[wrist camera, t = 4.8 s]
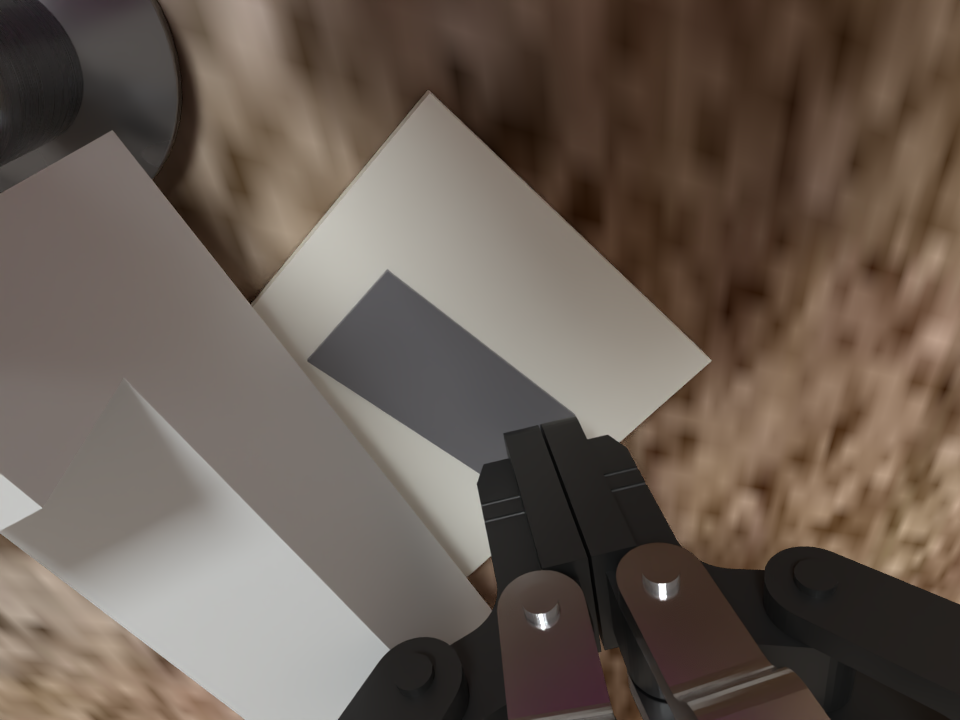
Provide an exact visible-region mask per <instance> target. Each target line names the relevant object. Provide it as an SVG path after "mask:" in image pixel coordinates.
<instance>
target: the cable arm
mask: <svg viewBox="0 0 960 720" xmlns="http://www.w3.org/2000/svg"><path fill="white" fill-rule="evenodd" d="M0 533H1V534H2V535H3V536H5V537H6V538H7V539H8V540H10V541H11V542H12V543H14V544H15V545H16V546H18V547H19V548H20V549H22V550H23V551H24V552H26V553H27V554H28V555H29V556H31V557H32V558H33V559H35V560H36V561H37V562H39V563H40V564H41V565H43V566H44V567H45V568H47V569H48V570H49V571H51V572H52V573H53V574H54V575H56V576H57V577H58V578H60V579H61V580H62V581H64V582H65V583H66V584H68V585H69V586H70V587H72V588H73V589H74V590H75V591H77V592H78V593H79V594H81V595H82V596H83V597H85V598H86V599H87V600H89V601H90V602H91V603H93V604H94V605H95V606H97V607H98V608H99V609H100V610H102V611H103V612H104V613H106V614H107V615H108V616H110V617H111V618H112V619H114V620H115V621H116V622H118V623H119V624H120V625H122V626H123V627H124V628H125V629H127V630H128V631H129V632H131V633H132V634H133V635H135V636H136V637H137V638H139V639H140V640H141V641H143V642H144V643H145V644H146V645H148V646H149V647H150V648H152V649H153V650H154V651H156V652H157V653H158V654H160V655H161V656H162V657H164V658H165V659H166V660H168V661H169V662H170V663H171V664H173V665H174V666H175V667H177V668H178V669H179V670H181V671H182V672H183V673H185V674H186V675H187V676H189V677H190V678H191V679H192V680H194V681H195V682H196V683H198V684H199V685H200V686H202V687H203V688H204V689H206V690H207V691H208V692H210V693H211V694H212V695H214V696H215V697H216V698H217V699H219V700H220V701H221V702H223V703H224V704H225V705H227V706H228V707H229V708H231V709H232V710H233V711H235V712H236V713H237V714H238V715H240V716H241V717H242V718H244V719H245V720H338V718H339V717H340V716H341V714H342V713H343V711H344V710H345V709H346V707H347V706H348V704H349V703H350V702H351V700H352V699H353V697H354V696H355V695H356V693H357V692H358V690H359V689H360V688H361V686H362V685H363V683H364V682H365V681H366V679H367V678H368V676H369V675H370V674H371V672H372V671H373V669H374V668H375V667H376V665H377V664H378V662H379V661H380V660H381V659H382V657H383V656H384V655H385V654H386V653H387V652H388V651H389V650H391V649H392V648H393V647H395V646H396V645H398V644H400V643H402V642H404V641H407V640H409V639H413V638H418V637H432V638H436V639H440V640H442V641H444V642H446V643H447V644H449V645H451V644H452V643H454V642H456V641H458V640H459V639H461V638H463V637H464V636H466V635H468V634H469V633H471V632H472V631H474V630H475V629H477V628H478V627H479V626H480V625H481V624H482V623H483V622H484V621H485V620H486V619H487V618H488V616H489V615H490V613H491V612H492V610H491V608H490V607H489V606H488V605H487V603H486V602H485V601H484V599H483V598H482V597H481V596H480V594H479V593H478V592H477V591H476V589H475V588H474V587H473V586H472V584H471V583H470V582H469V580H468V579H467V578H466V577H465V575H464V574H463V573H462V572H461V570H460V569H459V568H458V567H457V565H456V564H455V563H454V562H453V560H452V559H451V558H450V556H449V555H448V554H447V553H446V551H445V550H444V549H443V548H442V546H441V545H440V544H439V543H438V541H437V540H436V539H435V537H434V536H433V535H432V534H431V532H430V531H429V530H428V529H427V527H426V526H425V525H424V524H423V522H422V521H421V520H420V518H419V517H418V516H417V515H416V513H415V512H414V511H413V510H412V508H411V507H410V506H409V505H408V503H407V502H406V501H405V500H404V498H403V497H402V496H401V494H400V493H399V492H398V491H397V489H396V488H395V487H394V486H393V484H392V483H391V482H390V481H389V479H388V478H387V477H386V475H385V474H384V473H383V472H382V470H381V469H380V468H379V467H378V465H377V464H376V463H375V462H374V460H373V459H372V458H371V456H370V455H369V454H368V453H367V451H366V450H365V449H364V448H363V446H362V445H361V444H360V443H359V441H358V440H357V439H356V438H355V436H354V435H353V434H352V432H351V431H350V430H349V429H348V427H347V426H346V425H345V424H344V422H343V421H342V420H341V419H340V417H339V416H338V415H337V413H336V412H335V411H334V410H333V408H332V407H331V406H330V405H329V403H328V402H327V401H326V400H325V398H324V397H323V396H322V395H321V393H320V392H319V391H318V389H317V388H316V387H315V386H314V384H313V383H312V382H311V381H310V379H309V378H308V377H307V376H306V374H305V373H304V372H303V370H302V369H301V368H300V367H299V365H298V364H297V363H296V362H295V360H294V359H293V358H292V357H291V355H290V354H289V353H288V351H287V350H286V349H285V348H284V346H283V345H282V344H281V343H280V341H279V340H278V339H277V338H276V336H275V335H274V334H273V333H272V331H271V330H270V329H269V327H268V326H267V325H266V324H265V322H264V321H263V320H262V319H261V317H260V316H259V315H258V314H257V312H256V311H255V310H254V308H253V307H252V306H251V305H250V303H249V302H248V301H247V300H246V298H245V297H244V296H243V295H242V293H241V292H240V291H239V289H238V288H237V287H236V286H235V284H234V283H233V282H232V281H231V279H230V278H229V277H228V276H227V274H226V273H225V272H224V271H223V269H222V268H221V267H220V265H219V264H218V263H217V262H216V260H215V259H214V258H213V257H212V255H211V254H210V253H209V252H208V250H207V249H206V248H205V246H204V245H203V244H202V243H201V241H200V240H199V239H198V238H197V236H196V235H195V234H194V233H193V231H192V230H191V229H190V227H189V226H188V225H187V224H186V222H185V221H184V220H183V219H182V217H181V216H180V215H179V214H178V212H177V211H176V210H175V209H174V207H173V206H172V205H171V203H170V202H169V201H168V200H167V198H166V197H165V196H164V195H163V193H162V192H161V191H160V190H159V188H158V187H157V186H156V184H155V183H154V182H153V181H152V179H151V178H150V177H149V176H148V174H147V173H146V172H145V171H144V169H143V168H142V167H141V165H140V164H139V163H138V162H137V160H136V159H135V158H134V157H133V155H132V154H131V153H130V152H129V150H128V149H127V148H126V147H125V145H124V144H123V143H122V141H121V140H120V139H119V138H118V136H117V135H116V134H115V133H114V131H113V130H112V131H110V132H108V133H106V134H105V135H103V136H101V137H99V138H98V139H96V140H94V141H92V142H91V143H89V144H87V145H85V146H83V147H82V148H80V149H78V150H76V151H75V152H73V153H71V154H69V155H68V156H66V157H64V158H62V159H60V160H59V161H57V162H55V163H53V164H52V165H50V166H48V167H46V168H45V169H43V170H41V171H39V172H37V173H36V174H34V175H32V176H30V177H29V178H27V179H25V180H23V181H22V182H20V183H18V184H16V185H14V186H13V187H11V188H9V189H7V190H6V191H4V192H2V193H0Z"/></svg>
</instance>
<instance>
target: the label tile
mask: <svg viewBox="0 0 960 720" xmlns="http://www.w3.org/2000/svg"><path fill="white" fill-rule="evenodd" d="M251 306H252V307H253V308H254V310H255V311H256V312H257V314H258V315H259V316H260V317H261V319H262V320H263V321H264V322H265V324H266V325H267V326H268V327H269V329H270V330H271V331H272V333H273V334H274V335H275V336H276V338H277V339H278V340H279V341H280V343H281V344H282V345H283V346H284V348H285V349H286V350H287V351H288V353H289V354H290V355H291V357H292V358H293V359H294V360H295V362H296V363H297V364H298V365H299V367H300V368H301V369H302V370H303V372H304V373H305V374H306V376H307V377H308V378H309V379H310V381H311V382H312V383H313V384H314V386H315V387H316V388H317V389H318V391H319V392H320V393H321V395H322V396H323V397H324V398H325V400H326V401H327V402H328V403H329V405H330V406H331V407H332V408H333V410H334V411H335V412H336V413H337V415H338V416H339V417H340V419H341V420H342V421H343V422H344V424H345V425H346V426H347V427H348V429H349V430H350V431H351V432H352V434H353V435H354V436H355V438H356V439H357V440H358V441H359V443H360V444H361V445H362V446H363V448H364V449H365V450H366V451H367V453H368V454H369V455H370V456H371V458H372V459H373V460H374V462H375V463H376V464H377V465H378V467H379V468H380V469H381V470H382V472H383V473H384V474H385V475H386V477H387V478H388V479H389V481H390V482H391V483H392V484H393V486H394V487H395V488H396V489H397V491H398V492H399V493H400V494H401V496H402V497H403V498H404V500H405V501H406V502H407V503H408V505H409V506H410V507H411V508H412V510H413V511H414V512H415V513H416V515H417V516H418V517H419V518H420V520H421V521H422V522H423V524H424V525H425V526H426V527H427V529H428V530H429V531H430V532H431V534H432V535H433V536H434V537H435V539H436V540H437V541H438V543H439V544H440V545H441V546H442V548H443V549H444V550H445V551H446V553H447V554H448V555H449V556H450V558H451V559H452V560H453V562H454V563H455V564H456V565H457V567H458V568H459V569H460V570H461V572H462V573H463V574H464V575H465V577H466V578H467V577H468V576H469V575H470V574H471V573H472V572H473V571H475V570H476V569H477V568H478V567H479V566H480V565H481V564H483V563H484V562H485V561H486V560H487V559H488V558H489V557H490V556H491V552H490V547H489V542H488V537H487V532H486V527H485V522H484V518H483V513H482V507H481V503H480V498H479V493H478V488H477V482H478V479H479V476H480V473H481V470H482V467H483V464H487V463H491V462H495V461H499V460H503V459H508V456H507V451H506V446H505V441H504V436H503V433H506V432H510V431H515V430H519V429H523V428H527V427H532V426H536V425H538V426H539V428H540V424H544V423H548V422H552V421H556V420H560V419H565V418H569V417H573V416H576V417H577V419H578V421H579V423H580V425H581V427H582V429H583V431H584V433H585V436H586V438H587V439H591V438H595V437H599V436H604V435H609V436H611V437H612V438H614V439H615V440H616V441H618V442H620V441H622V440H623V439H624V438H625V437H626V436H627V435H628V434H629V433H631V432H632V431H633V430H634V429H635V428H636V427H637V426H638V425H640V424H641V423H642V422H643V421H644V420H645V419H646V418H648V417H649V416H650V415H651V414H652V413H653V412H654V411H655V410H657V409H658V408H659V407H660V406H661V405H662V404H663V403H664V402H666V401H667V400H668V399H669V398H670V397H671V396H672V395H674V394H675V393H676V392H677V391H678V390H679V389H680V388H681V387H683V386H684V385H685V384H686V383H687V382H688V381H689V380H690V379H692V378H693V377H694V376H695V375H696V374H697V373H698V372H700V371H701V370H702V369H703V368H704V367H705V366H706V365H707V364H709V363H710V362H711V361H712V360H711V359H710V358H709V357H708V356H707V355H706V354H705V353H704V352H703V351H702V350H701V349H700V348H699V347H698V346H697V345H696V344H695V343H694V342H693V341H692V340H691V339H690V338H689V337H688V336H686V335H685V334H684V333H683V332H682V331H681V330H680V329H679V328H678V327H677V326H676V325H675V324H674V323H673V322H672V321H671V320H670V319H669V318H668V317H667V316H665V315H664V314H663V313H662V312H661V311H660V310H659V309H658V308H657V307H656V306H655V305H654V304H653V303H652V302H651V301H650V300H649V299H648V298H647V297H646V296H644V295H643V294H642V293H641V292H640V291H639V290H638V289H637V288H636V287H635V286H634V285H633V284H632V283H631V282H630V281H629V280H628V279H627V278H626V277H625V276H623V275H622V274H621V273H620V272H619V271H618V270H617V269H616V268H615V267H614V266H613V265H612V264H611V263H610V262H609V261H608V260H607V259H606V258H605V257H604V256H602V255H601V254H600V253H599V252H598V251H597V250H596V249H595V248H594V247H593V246H592V245H591V244H590V243H589V242H588V241H587V240H586V239H585V238H584V237H583V236H581V235H580V234H579V233H578V232H577V231H576V230H575V229H574V228H573V227H572V226H571V225H570V224H569V223H568V222H567V221H566V220H565V219H564V218H563V217H562V216H561V215H559V214H558V213H557V212H556V211H555V210H554V209H553V208H552V207H551V206H550V205H549V204H548V203H547V202H546V201H545V200H544V199H543V198H542V197H541V196H540V195H538V194H537V193H536V192H535V191H534V190H533V189H532V188H531V187H530V186H529V185H528V184H527V183H526V182H525V181H524V180H523V179H522V178H521V177H520V176H519V175H517V174H516V173H515V172H514V171H513V170H512V169H511V168H510V167H509V166H508V165H507V164H506V163H505V162H504V161H503V160H502V159H501V158H500V157H499V156H498V155H496V154H495V153H494V152H493V151H492V150H491V149H490V148H489V147H488V146H487V145H486V144H485V143H484V142H483V141H482V140H481V139H480V138H479V137H478V136H477V135H475V134H474V133H473V132H472V131H471V130H470V129H469V128H468V127H467V126H466V125H465V124H464V123H463V122H462V121H461V120H460V119H459V118H458V117H457V116H456V115H454V114H453V113H452V112H451V111H450V110H449V109H448V108H447V107H446V106H445V105H444V104H443V103H442V102H441V101H440V100H439V99H438V98H437V97H436V96H435V95H434V94H432V93H431V92H430V91H429V90H427V91H426V93H425V94H424V95H423V96H422V98H421V99H420V100H419V101H418V102H417V104H416V105H415V106H414V107H413V108H412V110H411V111H410V112H409V113H408V114H407V116H406V117H405V118H404V119H403V121H402V122H401V123H400V124H399V125H398V127H397V128H396V129H395V130H394V131H393V133H392V134H391V135H390V136H389V137H388V139H387V140H386V141H385V142H384V144H383V145H382V146H381V147H380V148H379V150H378V151H377V152H376V153H375V154H374V156H373V157H372V158H371V159H370V160H369V162H368V163H367V164H366V165H365V167H364V168H363V169H362V170H361V171H360V173H359V174H358V175H357V176H356V177H355V179H354V180H353V181H352V182H351V183H350V185H349V186H348V187H347V188H346V190H345V191H344V192H343V193H342V194H341V196H340V197H339V198H338V199H337V200H336V202H335V203H334V204H333V205H332V206H331V208H330V209H329V210H328V211H327V213H326V214H325V215H324V216H323V217H322V219H321V220H320V221H319V222H318V223H317V225H316V226H315V227H314V228H313V229H312V231H311V232H310V233H309V234H308V236H307V237H306V238H305V239H304V240H303V242H302V243H301V244H300V245H299V246H298V248H297V249H296V250H295V251H294V252H293V254H292V255H291V256H290V257H289V259H288V260H287V261H286V262H285V263H284V265H283V266H282V267H281V268H280V269H279V271H278V272H277V273H276V274H275V276H274V277H273V278H272V279H271V280H270V282H269V283H268V284H267V285H266V286H265V288H264V289H263V290H262V291H261V292H260V294H259V295H258V296H257V297H256V299H255V300H254V301H253V302H252V303H251Z"/></svg>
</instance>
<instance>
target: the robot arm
mask: <svg viewBox="0 0 960 720" xmlns="http://www.w3.org/2000/svg"><path fill="white" fill-rule="evenodd" d="M503 436H504V441H505V446H506V451H507V456H508V459H503V460H499V461H495V462H491V463H487V464H483V467H482V470H481V473H480V476H479V479H478V482H477V488H478V493H479V498H480V503H481V507H482V513H483V518H484V522H485V527H486V532H487V537H488V542H489V547H490V552H491V557H492V562H493V567H494V572H495V577H496V581H497V589H498V591H497V599H496V603H495V605H494V608H493V610H492V612H491V613H490V615H489V616H488V618H487V619H486V620H485V621H484V622H483V623H482V624H481V625H480V626H479V627H478V628H477V629H475V630H474V631H472V632H471V633H469V634H468V635H466V636H464V637H463V638H461V639H459V640H458V641H456V642H454V643H452V644H451V645H449V644H447V643H446V642H444V641H442V640H440V639H436V638H432V637H418V638H413V639H409V640H407V641H404V642H402V643H400V644H398V645H396V646H395V647H393V648H392V649H391V650H389V651H388V652H387V653H386V654H385V655H384V656H383V657H382V659H381V660H380V661H379V662H378V664H377V665H376V667H375V668H374V669H373V671H372V672H371V674H370V675H369V676H368V678H367V679H366V681H365V682H364V683H363V685H362V686H361V688H360V689H359V690H358V692H357V693H356V695H355V696H354V697H353V699H352V700H351V702H350V703H349V704H348V706H347V707H346V709H345V710H344V711H343V713H342V714H341V716H340V717H339V718H338V720H617V719H616V717H614V714H613V711H612V707H611V703H610V699H609V695H608V691H607V687H606V683H605V679H604V675H603V670H602V666H601V662H600V658H599V654H598V652H601V645H600V638H601V641H602V644H603V646H604V649H605V650H608V649H612V648H617V647H619V648H620V651H621V654H622V656H623V659H624V662H625V664H626V667H627V674H628V683H629V688H630V691H631V694H632V696H633V698H634V701H635V703H636V705H637V707H638V709H639V712H640V714H641V716H642V718H643V720H960V604H957V603H955V602H952V601H950V600H948V599H945V598H943V597H940V596H938V595H935V594H933V593H931V592H928V591H926V590H923V589H921V588H918V587H916V586H914V585H911V584H909V583H906V582H904V581H901V580H899V579H897V578H894V577H892V576H889V575H887V574H884V573H882V572H880V571H877V570H875V569H872V568H870V567H867V566H865V565H863V564H860V563H858V562H855V561H853V560H850V559H848V558H846V557H843V556H841V555H838V554H836V553H833V552H831V551H828V550H825V549H820V548H816V547H793V548H789V549H785V550H783V551H781V552H779V553H777V554H776V555H774V556H773V557H772V558H771V559H770V560H769V561H768V563H767V565H766V567H765V570H745V569H727V568H720V567H715V566H712V565H709V564H706V563H704V562H702V561H700V560H699V559H698V558H697V557H696V556H695V555H694V554H693V553H691V552H689V551H688V550H686V549H684V548H682V547H681V546H680V544H679V543H678V541H677V540H676V538H675V536H674V534H673V532H672V530H671V529H670V527H669V525H668V523H667V521H666V519H665V517H664V516H663V514H662V512H661V510H660V508H659V506H658V505H657V503H656V501H655V499H654V497H653V495H652V493H651V492H650V490H649V488H648V486H647V485H646V484H645V481H644V479H643V477H642V475H641V473H640V471H639V470H638V469H637V466H636V464H635V462H634V460H633V458H632V457H631V455H630V453H629V451H628V449H627V448H626V447H625V446H623V445H622V444H621V443H619V442H618V441H616V440H615V439H614V438H612V437H611V436H609V435H604V436H599V437H595V438H591V439H587V438H586V436H585V433H584V431H583V429H582V427H581V425H580V423H579V421H578V419H577V417H576V416H573V417H569V418H565V419H560V420H556V421H552V422H548V423H544V424H540V428H539V426H538V425H536V426H532V427H527V428H523V429H519V430H515V431H510V432H506V433H503ZM599 635H600V638H599Z"/></svg>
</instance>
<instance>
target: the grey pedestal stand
mask: <svg viewBox="0 0 960 720" xmlns="http://www.w3.org/2000/svg"><path fill="white" fill-rule="evenodd" d="M181 108H182V78H181V71H180V65H179V60H178V54H177V51H176V47H175V44H174V40H173V37H172V34H171V30H170V28H169V26H168V23H167V21H166V19H165V16H164V14H163V12H162V9H161V7H160V5H159V3H158V2H157V0H0V193H2V192H4V191H6V190H7V189H9V188H11V187H13V186H14V185H16V184H18V183H20V182H22V181H23V180H25V179H27V178H29V177H30V176H32V175H34V174H36V173H37V172H39V171H41V170H43V169H45V168H46V167H48V166H50V165H52V164H53V163H55V162H57V161H59V160H60V159H62V158H64V157H66V156H68V155H69V154H71V153H73V152H75V151H76V150H78V149H80V148H82V147H83V146H85V145H87V144H89V143H91V142H92V141H94V140H96V139H98V138H99V137H101V136H103V135H105V134H106V133H108V132H110V131H112V130H113V131H114V133H115V134H116V135H117V136H118V138H119V139H120V140H121V141H122V143H123V144H124V145H125V147H126V148H127V149H128V150H129V152H130V153H131V154H132V155H133V157H134V158H135V159H136V160H137V162H138V163H139V164H140V165H141V167H142V168H143V169H144V171H145V172H146V173H147V174H148V176H149V177H150V178H151V179H152V180H153V179H154V177H155V176H156V175H157V174H158V173H159V171H160V170H161V168H162V166H163V165H164V163H165V161H166V160H167V158H168V156H169V154H170V152H171V149H172V147H173V144H174V142H175V139H176V136H177V132H178V128H179V123H180V119H181Z"/></svg>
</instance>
